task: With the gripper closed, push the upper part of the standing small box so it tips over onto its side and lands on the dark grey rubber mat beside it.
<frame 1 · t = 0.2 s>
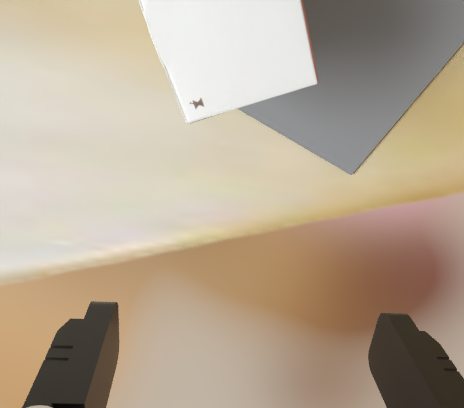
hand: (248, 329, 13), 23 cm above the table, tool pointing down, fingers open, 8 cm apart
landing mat: (372, 32, 30), on the table
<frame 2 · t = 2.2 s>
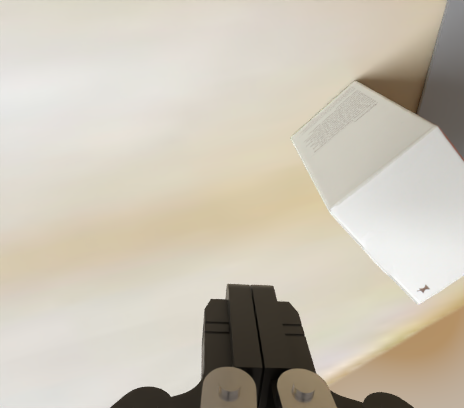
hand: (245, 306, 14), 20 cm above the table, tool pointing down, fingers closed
small box: (352, 144, 33), on the table, touching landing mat
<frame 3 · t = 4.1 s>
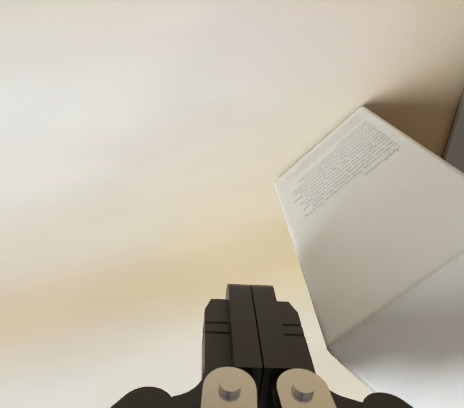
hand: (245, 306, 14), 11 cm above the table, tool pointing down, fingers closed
small box: (359, 190, 24), on the table, touching gripper, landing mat
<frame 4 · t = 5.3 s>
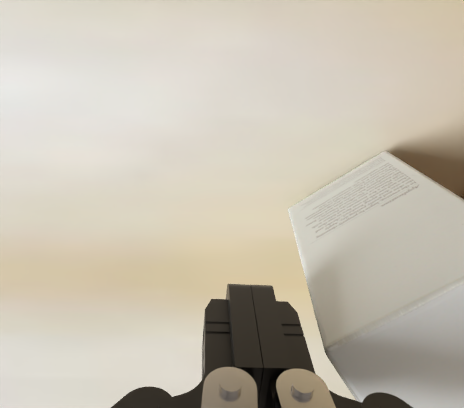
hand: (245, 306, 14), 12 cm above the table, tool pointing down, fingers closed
small box: (368, 232, 25), point 1 cm above the table, touching gripper, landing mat
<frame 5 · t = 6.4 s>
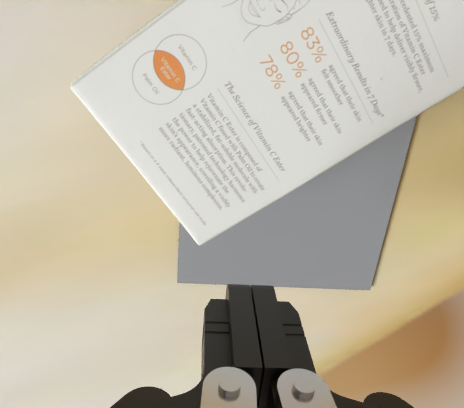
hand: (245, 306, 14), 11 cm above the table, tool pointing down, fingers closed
small box: (144, 152, 19), point 3 cm above the table, touching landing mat
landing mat: (297, 134, 23), on the table
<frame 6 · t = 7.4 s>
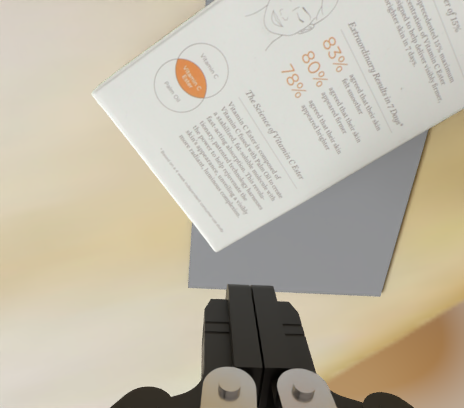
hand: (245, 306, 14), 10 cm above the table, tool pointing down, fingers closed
small box: (160, 158, 19), point 3 cm above the table, touching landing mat
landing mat: (311, 141, 23), on the table
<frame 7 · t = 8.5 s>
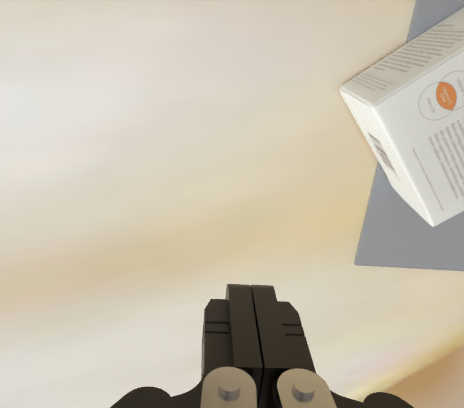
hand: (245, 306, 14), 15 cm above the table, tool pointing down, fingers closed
small box: (377, 155, 25), point 3 cm above the table, touching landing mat
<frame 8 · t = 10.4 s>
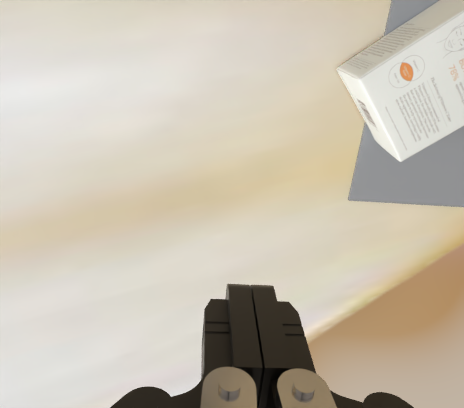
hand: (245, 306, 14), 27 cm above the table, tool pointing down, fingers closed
small box: (363, 115, 36), point 3 cm above the table, touching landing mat
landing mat: (432, 108, 39), on the table
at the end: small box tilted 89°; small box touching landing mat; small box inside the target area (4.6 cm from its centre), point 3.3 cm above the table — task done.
